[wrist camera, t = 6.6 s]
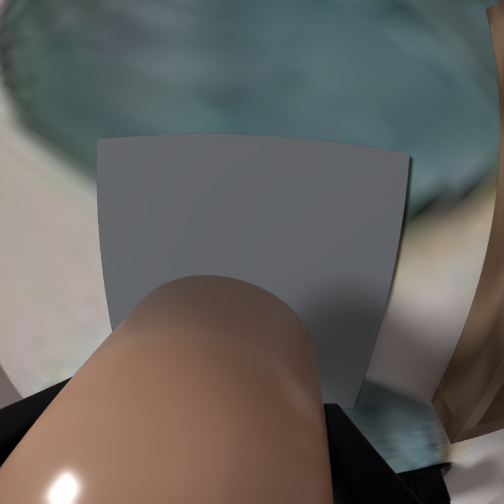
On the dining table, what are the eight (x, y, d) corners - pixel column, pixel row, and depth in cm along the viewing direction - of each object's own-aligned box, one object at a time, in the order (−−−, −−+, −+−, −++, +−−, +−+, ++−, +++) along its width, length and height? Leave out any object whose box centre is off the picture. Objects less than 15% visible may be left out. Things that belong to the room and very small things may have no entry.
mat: (351, 404, 15) (352, 408, 15) (125, 378, 16) (123, 381, 16) (406, 154, 11) (409, 154, 11) (100, 139, 12) (97, 139, 12)
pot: (300, 433, 9) (297, 615, 2) (142, 410, 10) (67, 562, 3) (333, 285, 7) (417, 598, 1) (115, 264, 8) (-84, 433, 1)
